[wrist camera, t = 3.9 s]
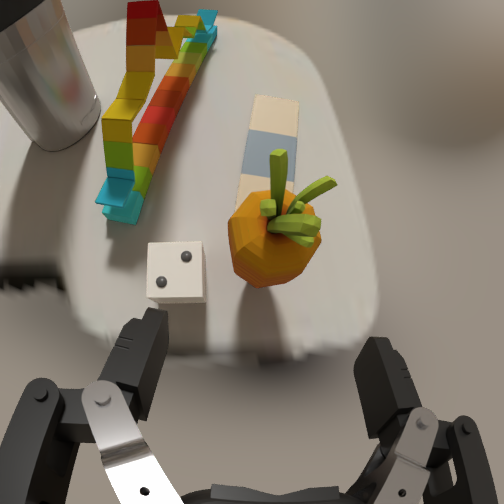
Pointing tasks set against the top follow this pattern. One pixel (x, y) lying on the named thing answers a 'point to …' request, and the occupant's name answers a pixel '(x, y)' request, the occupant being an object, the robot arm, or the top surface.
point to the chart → (160, 107)
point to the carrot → (276, 228)
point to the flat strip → (268, 143)
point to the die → (176, 272)
